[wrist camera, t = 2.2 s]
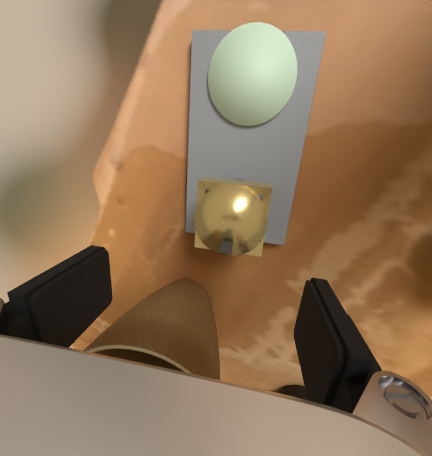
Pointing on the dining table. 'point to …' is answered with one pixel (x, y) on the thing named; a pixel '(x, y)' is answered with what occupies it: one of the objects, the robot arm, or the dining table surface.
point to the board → (251, 111)
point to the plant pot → (167, 332)
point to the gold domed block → (231, 215)
